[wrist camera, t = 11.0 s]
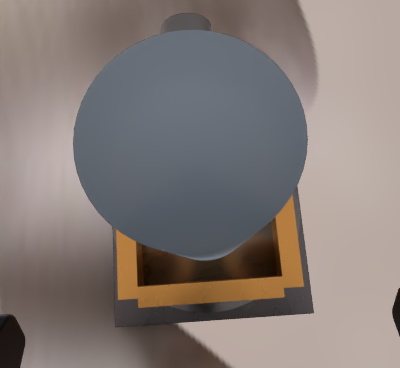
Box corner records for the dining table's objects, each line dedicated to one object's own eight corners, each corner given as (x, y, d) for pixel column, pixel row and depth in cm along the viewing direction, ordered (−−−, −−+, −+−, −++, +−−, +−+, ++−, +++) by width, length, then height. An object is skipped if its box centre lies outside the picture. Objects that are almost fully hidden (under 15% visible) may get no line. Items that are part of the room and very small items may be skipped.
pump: (253, 257, 18) (322, 243, 7) (162, 264, 18) (72, 262, 7) (241, 136, 20) (282, -52, 8) (157, 143, 20) (73, -33, 8)
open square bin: (309, 311, 22) (340, 326, 16) (119, 324, 22) (88, 343, 16) (286, 130, 24) (306, 91, 19) (115, 144, 24) (86, 109, 19)
